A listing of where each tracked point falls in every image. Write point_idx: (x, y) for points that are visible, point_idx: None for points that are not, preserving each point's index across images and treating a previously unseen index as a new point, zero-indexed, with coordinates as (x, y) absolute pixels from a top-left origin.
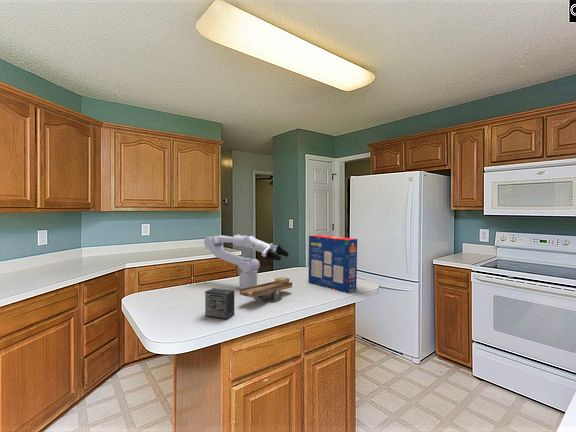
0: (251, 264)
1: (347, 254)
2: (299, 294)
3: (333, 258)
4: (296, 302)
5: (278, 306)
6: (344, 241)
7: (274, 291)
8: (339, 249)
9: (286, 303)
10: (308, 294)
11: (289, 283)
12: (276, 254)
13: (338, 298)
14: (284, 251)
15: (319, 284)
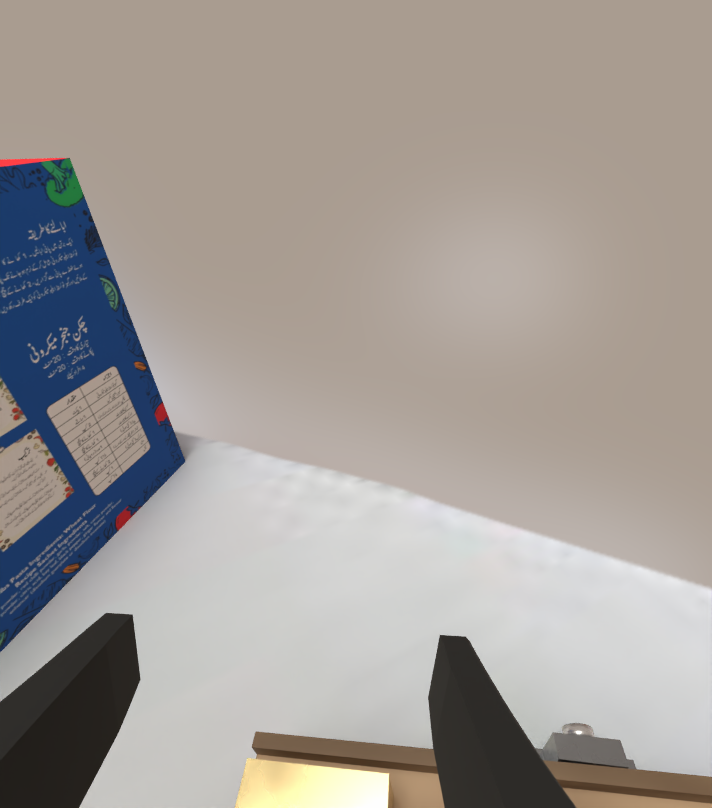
0: None
1: (107, 271)
2: (296, 677)
3: (17, 366)
4: (472, 607)
5: (635, 675)
6: (43, 179)
7: (622, 749)
8: (33, 265)
9: (540, 656)
10: (271, 616)
11: (310, 738)
12: (523, 737)
13: (284, 466)
14: (55, 720)
15: (4, 636)
